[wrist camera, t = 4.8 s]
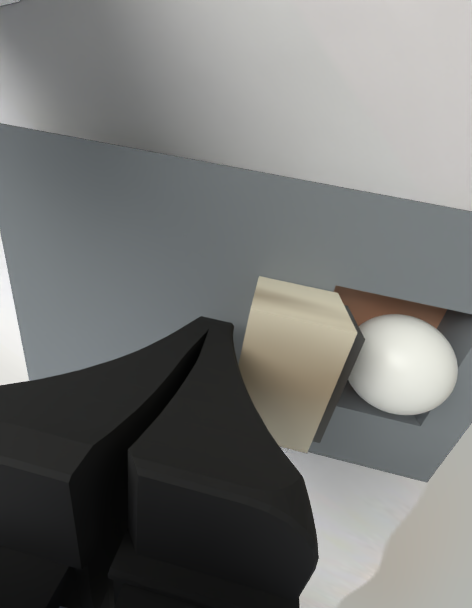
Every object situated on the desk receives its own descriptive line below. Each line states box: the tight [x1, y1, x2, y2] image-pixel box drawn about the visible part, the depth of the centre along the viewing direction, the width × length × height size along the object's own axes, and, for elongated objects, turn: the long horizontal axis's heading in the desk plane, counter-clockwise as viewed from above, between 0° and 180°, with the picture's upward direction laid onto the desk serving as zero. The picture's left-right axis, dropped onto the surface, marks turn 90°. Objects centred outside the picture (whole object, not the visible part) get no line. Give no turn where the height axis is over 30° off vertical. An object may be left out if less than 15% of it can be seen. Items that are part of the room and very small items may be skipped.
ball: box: [348, 314, 458, 415], centre depth 11 cm, size 4×4×4 cm
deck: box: [0, 123, 472, 482], centre depth 13 cm, size 12×21×2 cm, turn 80°
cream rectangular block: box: [238, 276, 365, 453], centre depth 10 cm, size 5×3×3 cm
